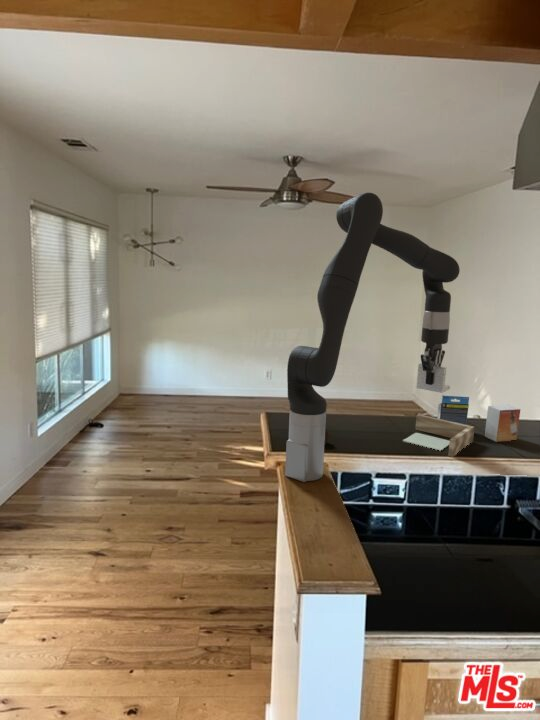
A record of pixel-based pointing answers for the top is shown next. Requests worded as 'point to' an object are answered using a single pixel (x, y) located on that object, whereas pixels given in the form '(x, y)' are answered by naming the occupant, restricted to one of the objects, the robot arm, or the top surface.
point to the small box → (502, 423)
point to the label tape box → (453, 409)
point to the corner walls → (447, 432)
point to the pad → (427, 441)
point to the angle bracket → (438, 380)
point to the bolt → (326, 436)
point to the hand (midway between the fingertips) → (430, 383)
